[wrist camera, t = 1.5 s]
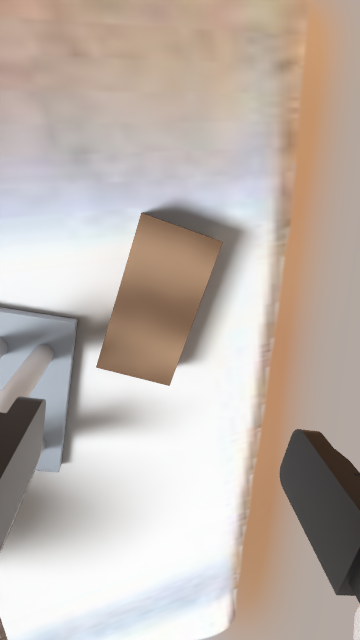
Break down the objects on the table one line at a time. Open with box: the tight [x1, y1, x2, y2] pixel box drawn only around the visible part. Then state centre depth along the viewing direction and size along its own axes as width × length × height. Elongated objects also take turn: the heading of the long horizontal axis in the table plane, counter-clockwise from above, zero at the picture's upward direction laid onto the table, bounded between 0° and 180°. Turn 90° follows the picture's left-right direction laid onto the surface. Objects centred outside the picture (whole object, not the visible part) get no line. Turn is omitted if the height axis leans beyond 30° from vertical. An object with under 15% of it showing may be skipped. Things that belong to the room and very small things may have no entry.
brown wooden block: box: [96, 213, 223, 386], centre depth 26 cm, size 12×6×4 cm, turn 161°
